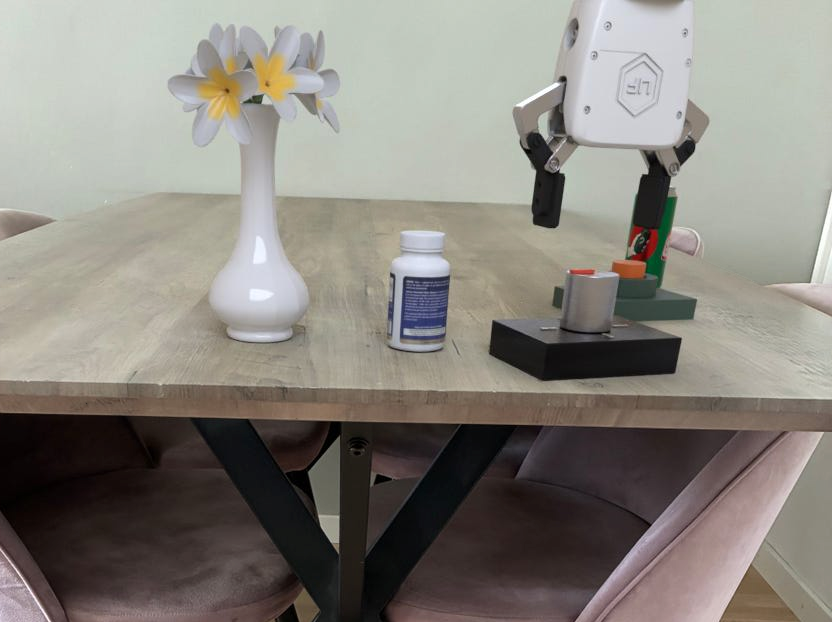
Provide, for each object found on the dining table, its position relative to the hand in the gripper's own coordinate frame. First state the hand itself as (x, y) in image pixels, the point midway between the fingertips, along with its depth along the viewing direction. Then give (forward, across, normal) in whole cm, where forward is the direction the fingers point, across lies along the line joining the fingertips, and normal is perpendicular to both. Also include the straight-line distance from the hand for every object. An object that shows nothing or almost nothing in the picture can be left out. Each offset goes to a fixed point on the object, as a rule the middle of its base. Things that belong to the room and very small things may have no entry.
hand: (596, 227), depth 79 cm
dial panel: (+11, 0, 0) cm, 11 cm away
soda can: (+11, +30, +35) cm, 48 cm away
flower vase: (+12, -25, +15) cm, 31 cm away
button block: (+11, +18, +21) cm, 30 cm away
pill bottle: (+12, -12, +9) cm, 19 cm away
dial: (+8, 0, 0) cm, 8 cm away
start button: (+7, +18, +21) cm, 29 cm away
